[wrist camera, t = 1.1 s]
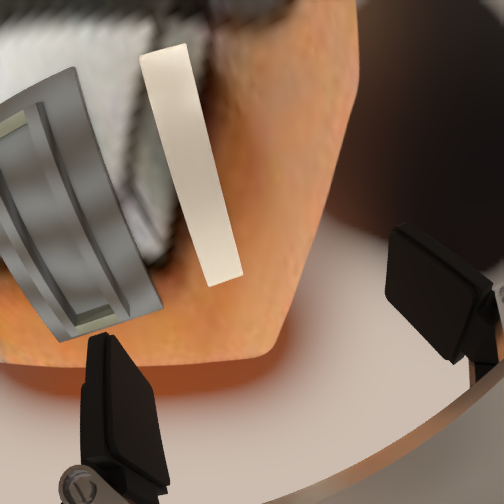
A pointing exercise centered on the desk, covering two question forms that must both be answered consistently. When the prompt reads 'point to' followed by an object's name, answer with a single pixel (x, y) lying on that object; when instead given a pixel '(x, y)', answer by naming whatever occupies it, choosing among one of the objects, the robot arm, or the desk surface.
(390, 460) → the robot arm
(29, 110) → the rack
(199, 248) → the clay strip
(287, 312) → the desk surface
